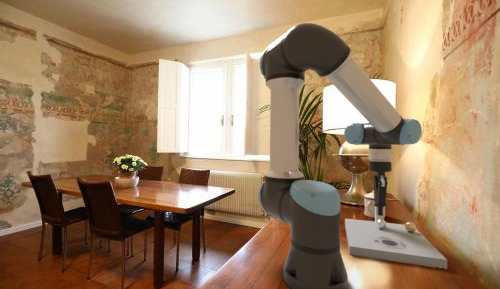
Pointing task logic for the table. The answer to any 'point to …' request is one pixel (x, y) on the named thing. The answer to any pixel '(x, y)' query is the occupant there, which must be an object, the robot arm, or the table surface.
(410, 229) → the brass ball
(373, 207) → the teacup with lid
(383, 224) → the steel ball
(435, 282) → the table surface
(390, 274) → the table surface
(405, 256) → the plate
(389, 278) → the table surface
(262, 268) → the table surface
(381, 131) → the robot arm
